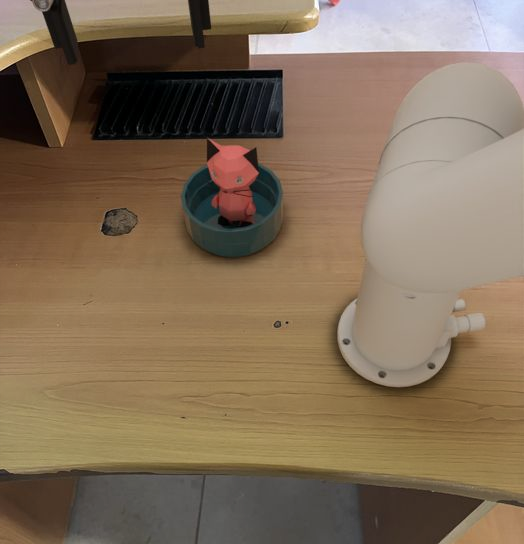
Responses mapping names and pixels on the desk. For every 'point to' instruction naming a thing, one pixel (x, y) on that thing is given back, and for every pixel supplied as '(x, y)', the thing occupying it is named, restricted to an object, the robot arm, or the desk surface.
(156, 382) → the desk surface
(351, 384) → the desk surface
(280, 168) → the desk surface
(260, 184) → the bowl
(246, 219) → the cat figurine
